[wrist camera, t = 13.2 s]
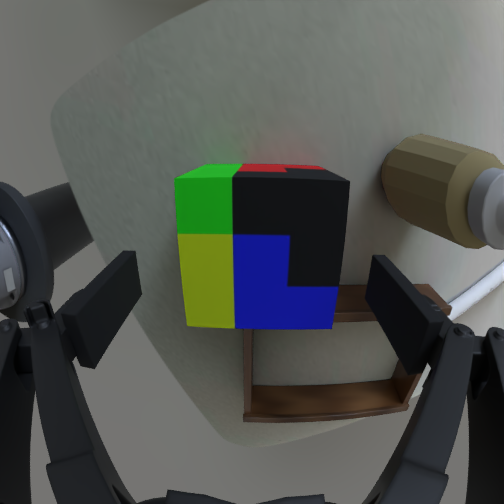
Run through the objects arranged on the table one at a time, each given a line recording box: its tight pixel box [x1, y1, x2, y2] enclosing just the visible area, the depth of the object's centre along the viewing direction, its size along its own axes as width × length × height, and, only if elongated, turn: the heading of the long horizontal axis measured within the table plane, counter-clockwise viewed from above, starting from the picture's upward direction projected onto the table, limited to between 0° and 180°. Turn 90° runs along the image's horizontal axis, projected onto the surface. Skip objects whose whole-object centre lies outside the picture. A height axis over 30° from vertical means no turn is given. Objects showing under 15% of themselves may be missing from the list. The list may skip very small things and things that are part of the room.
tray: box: [243, 284, 452, 423], centre depth 30 cm, size 21×16×6 cm
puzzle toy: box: [174, 164, 350, 329], centre depth 22 cm, size 10×10×10 cm
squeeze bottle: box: [381, 134, 504, 250], centre depth 17 cm, size 8×8×18 cm
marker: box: [448, 262, 504, 321], centre depth 28 cm, size 18×2×2 cm, turn 123°
